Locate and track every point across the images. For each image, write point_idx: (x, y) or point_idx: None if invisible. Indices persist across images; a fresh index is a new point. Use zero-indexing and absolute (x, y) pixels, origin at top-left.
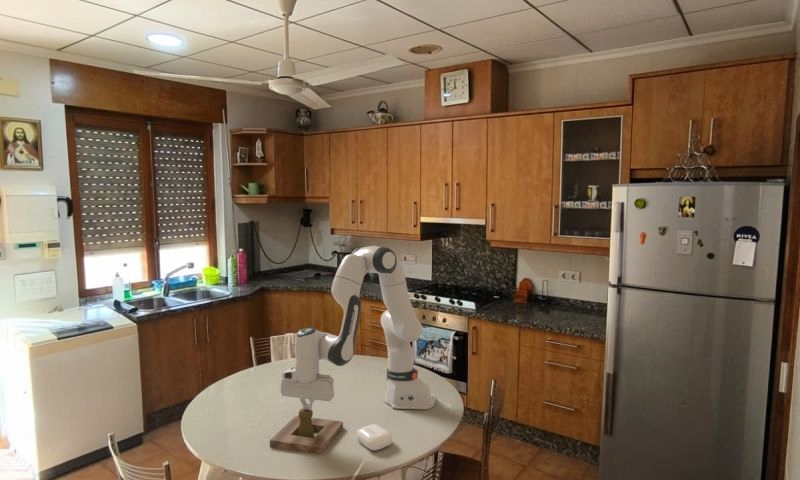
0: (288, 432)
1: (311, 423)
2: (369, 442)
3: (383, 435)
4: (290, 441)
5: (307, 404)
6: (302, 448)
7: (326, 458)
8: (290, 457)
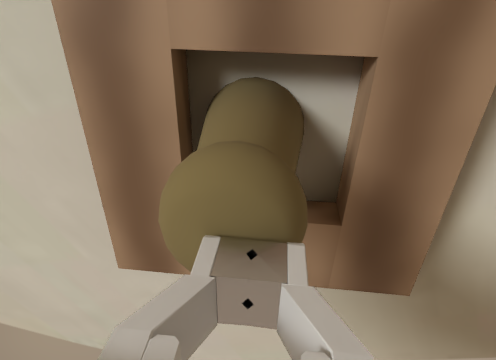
0: (160, 192)
1: (295, 169)
2: None
3: None
4: None
5: (244, 299)
6: None
7: (427, 290)
8: None
